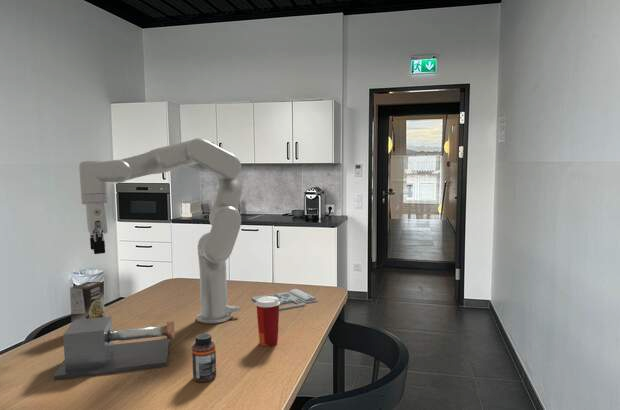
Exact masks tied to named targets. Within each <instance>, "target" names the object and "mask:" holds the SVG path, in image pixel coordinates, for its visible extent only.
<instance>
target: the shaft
mask: <svg viewBox="0 0 620 410" xmlns="http://www.w3.org/2000/svg"><path fill="white" fill-rule="evenodd" d="M157 337H166V339H169V340H174V339H175V337H176V328H175V320H173V321H167V322H166V325H156V326H148V327H147V326H146V327H139V328H136V327H135V328H129V329H119V330H118V329H117V330H112V331H108V332H107V339H108V342H113V343H114V342H123V341H133V340H139V339H140V340H141V339H150V338H157Z"/></svg>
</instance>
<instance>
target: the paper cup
mask: <svg viewBox="0 0 620 410" xmlns="http://www.w3.org/2000/svg"><path fill="white" fill-rule="evenodd" d="M279 304H280V301H279V299H278V298H277V297H273V296H266V297H261V298H258V299H257V301H256V302H255V303H254V305H255V306H256V316H257V329H258V338H259V339H258V340H259V345H260V346H263V347H273V346H276V345H278V340H279V320H280V319H279V317H280V311H279V307H280V305H281V304H280V305H279Z"/></svg>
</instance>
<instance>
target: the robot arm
mask: <svg viewBox="0 0 620 410" xmlns="http://www.w3.org/2000/svg"><path fill="white" fill-rule="evenodd" d="M195 165H200V166H202V167H203V168H205V169H207V170H209V171H211V172H212V173H213V175H214V176H215V177H216V178H217V180H218V190H217V194H216V196H215V200H214V203H213V205H212V208H211V210H210V213H209V215H208V216H209V217H208V221H209V224H210V225H211V228H210V232H207V233H204V234H203V235H202V236H201V237H200V238H199V240H198V243H197V255H198V266H199V267H198V268H199V293H200V294H199V295H200V297H199V299H200V313H198V314H197V315H196V321H197V322H199V323H201V324H210V325H211V324H219V323H225V322H227V321H228V320H230V319H232V317H233V313H239V312H241V306H240V305H239V306H237V305H229V303H228V285H227V263H226V262H227V260H228V259H229V258H230V256H231V254H232V252H233V250H234V246H235V244H236V242H237V238H238V235H239V232H240V229H241V225H242V217H241V213H240V211H239V210H238V208H239V204H240V201H241V197H242V194H243V181H242V180H243V179H242V176H241V174H240V172H241V169H242V163H241V161H240V160H239V158H238V157H237V156H236V155H234V154H233V153H232V152H229V151H227V150H225V149H223V148H222V147H220V146H217V145H216V144H214V143H212V142H211V141H209V140H206V139H203V138H200V137H199V138H198V137H197V138H193V139H189V140H186V141H182V142H178V143H174V144H170V145H166V146H162V147H158V148H153V149H151V150H149V151H147V152H144V153H141V154H137V155H133V156H130V157H125V158H121V159H113V160H104V161H101V160H84V161H81V162H80V163H79V165H78V167H79V183H80V196H81V197H80V198H81V205H85V212H86V223H87V230H88V234H90V235H89V236H90V237H89V243H90V244H89V245H90V250H92V251H93V254H94V255H98V254H99V255H100V254H105V253H106V242H105V241H106V240H105V238H104V236H105V235H107V234H108V223H107V215H106V214H107V211H106V206H105V204H108V194H107V193H108V192H107V191H108V190H107V183H115V184H122V183H124V182H127V181H129V180H133V179H136V178H137V179H138V178H141V177H144V176H145V177H146V176H149V175H150V176H151V175H157V174H158V175H159V174H164V173H168V172H171V171H172V172H173V171H175V170H179V169H182V168H183V169H184V168H186V167H191V166H195ZM104 234H105V235H104Z"/></svg>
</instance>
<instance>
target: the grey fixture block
mask: <svg viewBox="0 0 620 410" xmlns="http://www.w3.org/2000/svg"><path fill="white" fill-rule="evenodd" d="M112 317H113V316H105V317H100V318H89V319H78V320H74V321H73V322H71V324H70V325H69V327H67V329H66V330H65V332H64V333H63V335H62V337H63V356H64V360H63V361H62V363H61V364H60V366H59V367H58V369H57V370H56V372H55V373H54V375H53V381H59V380H60V381H61V380H68V379H77V378H85V377H92V376H101V375H109V374H115V373H116V374H117V373H123V372H124V373H125V372H133V371H140V370H149V369H150V370H151V369H155V368H156V369H157V368H165V367H167V366H168V360H169V359H168V357H169V350H170V349H169V348H170V339H167V338H161V339H151V340H143V341H135V342H126V343H125V342H124V343H117V344H114V342H108V339H107V332H108V331H113V320H112Z"/></svg>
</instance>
